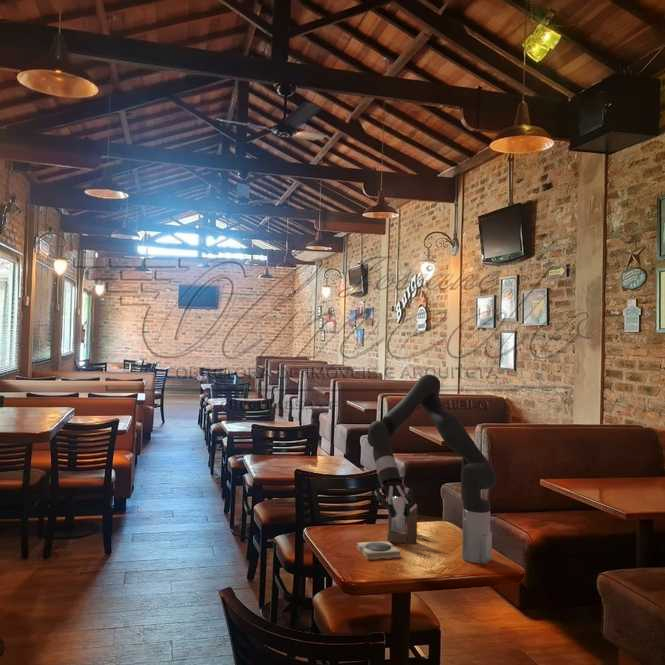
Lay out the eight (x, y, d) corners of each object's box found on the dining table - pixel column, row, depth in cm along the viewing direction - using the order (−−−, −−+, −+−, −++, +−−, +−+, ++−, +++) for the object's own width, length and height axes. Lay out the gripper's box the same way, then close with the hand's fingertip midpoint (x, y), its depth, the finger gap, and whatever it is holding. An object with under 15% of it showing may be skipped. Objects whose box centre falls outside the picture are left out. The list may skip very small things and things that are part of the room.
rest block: (400, 557, 206) (400, 551, 206) (367, 559, 203) (367, 553, 203) (387, 546, 217) (388, 540, 217) (356, 548, 214) (356, 542, 214)
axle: (407, 529, 197) (407, 496, 198) (400, 532, 194) (401, 499, 194) (395, 527, 200) (395, 494, 200) (389, 530, 196) (389, 496, 197)
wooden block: (416, 544, 221) (417, 495, 221) (387, 543, 221) (389, 494, 221) (415, 541, 224) (416, 493, 225) (387, 540, 224) (388, 492, 225)
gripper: (403, 477, 212) (417, 521, 199) (366, 479, 208) (377, 523, 196) (410, 465, 207) (423, 509, 195) (371, 466, 203) (383, 511, 191)
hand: (400, 516), depth 195 cm, fingers closed on axle, 4 cm apart
